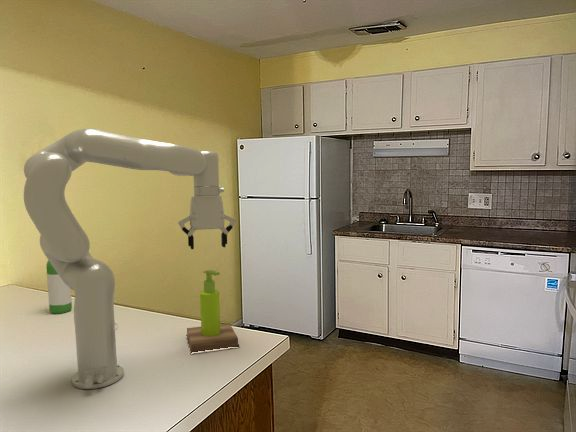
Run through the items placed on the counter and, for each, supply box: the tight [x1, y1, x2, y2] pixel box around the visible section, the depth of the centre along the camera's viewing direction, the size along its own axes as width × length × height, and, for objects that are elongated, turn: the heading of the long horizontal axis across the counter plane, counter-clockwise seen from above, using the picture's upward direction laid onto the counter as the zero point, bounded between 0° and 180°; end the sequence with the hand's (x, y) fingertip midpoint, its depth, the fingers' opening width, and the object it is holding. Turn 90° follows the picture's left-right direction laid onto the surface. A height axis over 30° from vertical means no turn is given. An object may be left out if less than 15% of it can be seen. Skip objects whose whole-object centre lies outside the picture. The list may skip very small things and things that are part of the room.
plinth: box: [185, 322, 240, 354], centre depth 141 cm, size 15×15×3 cm
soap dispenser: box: [199, 269, 221, 336], centre depth 140 cm, size 6×7×20 cm
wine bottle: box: [45, 259, 73, 315], centre depth 172 cm, size 8×8×30 cm
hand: (208, 247), depth 137 cm, fingers open, 9 cm apart
